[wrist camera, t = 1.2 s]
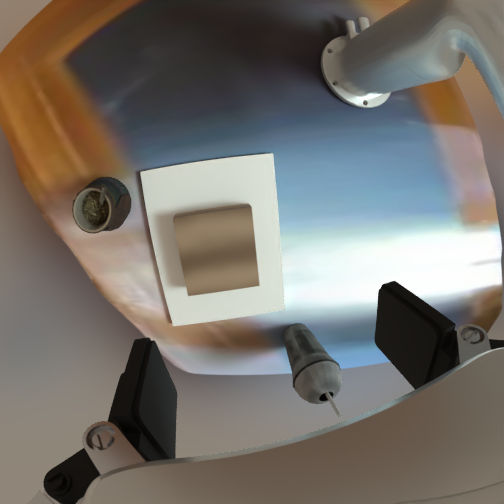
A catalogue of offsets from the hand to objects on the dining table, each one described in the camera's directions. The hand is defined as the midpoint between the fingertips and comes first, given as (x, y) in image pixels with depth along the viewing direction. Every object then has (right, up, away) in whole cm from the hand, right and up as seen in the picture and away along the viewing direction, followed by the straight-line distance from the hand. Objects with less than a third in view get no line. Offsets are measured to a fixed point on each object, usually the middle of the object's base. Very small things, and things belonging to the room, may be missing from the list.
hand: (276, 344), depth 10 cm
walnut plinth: (-6, +4, +28) cm, 29 cm away
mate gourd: (-21, +11, +25) cm, 34 cm away
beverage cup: (+7, -11, +37) cm, 39 cm away
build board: (-6, +5, +29) cm, 30 cm away
